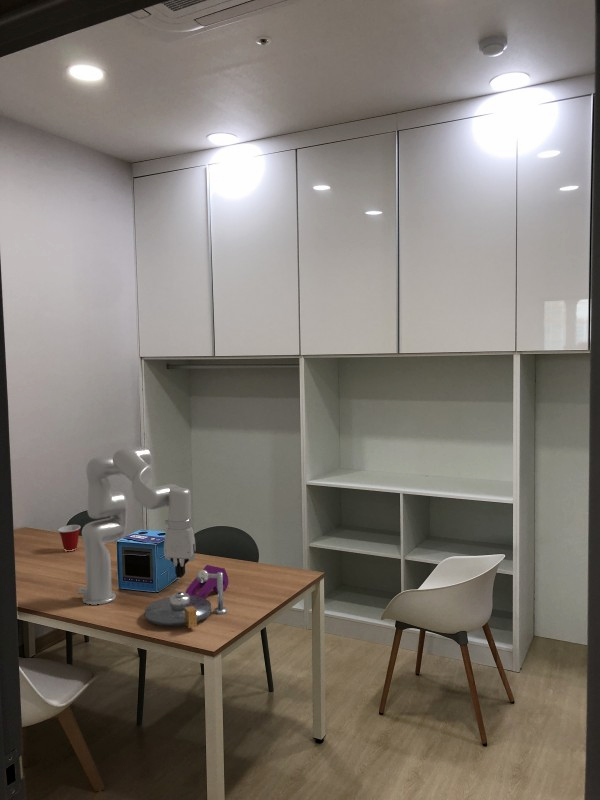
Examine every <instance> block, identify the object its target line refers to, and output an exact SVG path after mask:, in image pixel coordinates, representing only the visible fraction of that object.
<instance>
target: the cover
mask: <svg viewBox="0 0 600 800" xmlns="http://www.w3.org/2000/svg"><path fill="white" fill-rule="evenodd" d="M169 597H170V608H171V609H172V610H176V611H180V610H185V607H190V598H189V594H186V592H184V591H178V592H177V591H176V592H175V593H173V594H172V595H171V596H169Z"/></svg>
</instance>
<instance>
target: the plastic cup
mask: <svg viewBox="0 0 600 800" xmlns="http://www.w3.org/2000/svg"><path fill="white" fill-rule="evenodd" d="M80 530H81V525H79V524H70V525H65V526H61V527H60V528H58V530H57V531H58V532H59V534H60V535H59V536H60V538H61V542H62V546H63V550H64V549H66V550H72V549H75V548H77V549H78V543H79V535H80Z"/></svg>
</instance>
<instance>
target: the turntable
mask: <svg viewBox="0 0 600 800" xmlns="http://www.w3.org/2000/svg"><path fill="white" fill-rule="evenodd" d="M189 598H190V607H185V610H180V611H176V610H172V609H171V608H170V596H168V597H163V598H160V599H157V600H155V601H153V602H151V603H149V604H148V605H147V606H146V607H145V609H144V617H145V620H147V621H148V622H149V623H152V624H153V625H159V626H166V627H167V626H168V627H169V626H170V627H177V626H184V625H185V626H186V627H187V628H188V629H190V628H192V629H193V628H196V627H198V622H200V621H202V620H205V619H206V618H207V617H209V616H210V615H211V613H212V603H211V601H210V600H208V599H206V598H201V597H197V596H189Z"/></svg>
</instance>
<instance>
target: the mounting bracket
mask: <svg viewBox="0 0 600 800" xmlns="http://www.w3.org/2000/svg"><path fill="white" fill-rule="evenodd" d="M202 570H206V571H207V572H208V574H217V573H218V572H222V573H223V593H224V592H226V590H227V589H228V586H229V576H228V573H227V570H226V568H224V567H220V566H219V567H218V566H214V565H210V564H209V565H208V564H206V565H205V567H204V568H203V569H202ZM199 589H200V590H199ZM198 590H199V591H198ZM197 591H198V592H197ZM212 591H213V592H215V593H217V594H218V586H217V578H208V580H207V581H206V582H204V583H201V582H199V581H198V580H197V578H196V577H195V578H194V580H193V581H192V582H191V583H190V584H189V585H188V587H187V588H186V590H185V593H186V594H189V596H197V597H201V598H204V599H206V598H207V596H209V594H210V593H211V592H212ZM196 592H197V593H196Z"/></svg>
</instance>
